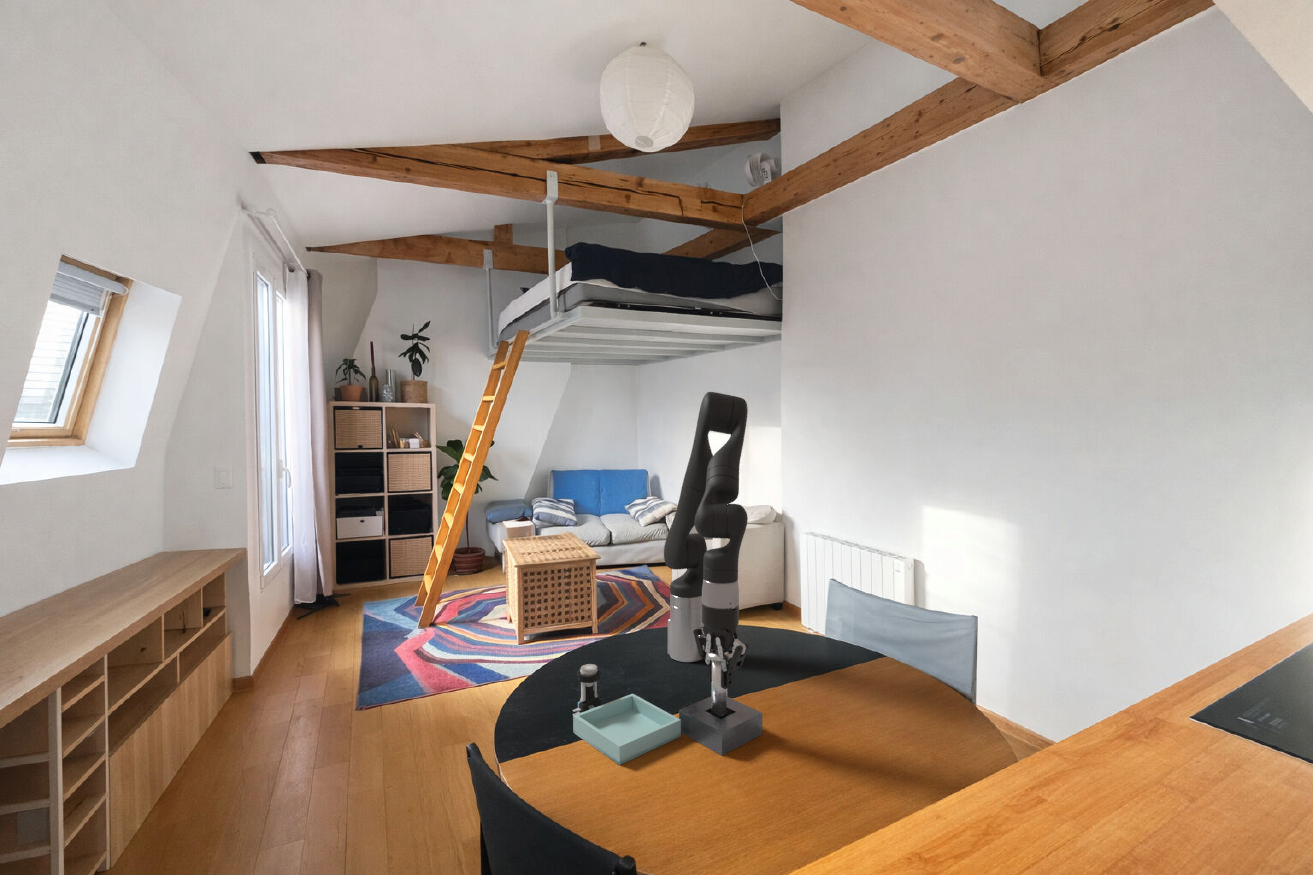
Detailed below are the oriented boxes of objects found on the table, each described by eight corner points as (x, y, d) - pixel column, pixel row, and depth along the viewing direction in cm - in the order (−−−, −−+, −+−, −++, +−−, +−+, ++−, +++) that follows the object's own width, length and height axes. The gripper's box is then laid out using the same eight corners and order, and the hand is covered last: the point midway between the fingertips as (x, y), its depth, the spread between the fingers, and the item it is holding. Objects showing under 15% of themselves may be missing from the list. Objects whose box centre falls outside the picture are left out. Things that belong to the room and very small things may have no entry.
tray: (573, 732, 125) (573, 715, 125) (632, 709, 136) (632, 693, 136) (619, 765, 114) (619, 746, 114) (680, 736, 124) (680, 719, 124)
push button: (579, 722, 130) (579, 675, 129) (566, 712, 134) (566, 667, 134) (605, 713, 134) (605, 668, 133) (593, 704, 138) (592, 660, 138)
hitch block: (679, 731, 126) (679, 709, 126) (719, 713, 134) (719, 692, 134) (721, 755, 117) (721, 732, 117) (762, 734, 125) (762, 712, 125)
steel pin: (701, 711, 126) (702, 651, 125) (718, 704, 129) (719, 646, 129) (719, 721, 122) (720, 659, 121) (736, 713, 125) (737, 653, 125)
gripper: (683, 596, 127) (682, 678, 128) (733, 613, 117) (732, 702, 117) (708, 590, 132) (707, 668, 133) (759, 605, 122) (758, 691, 122)
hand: (719, 683), depth 125 cm, fingers closed on steel pin, 3 cm apart
